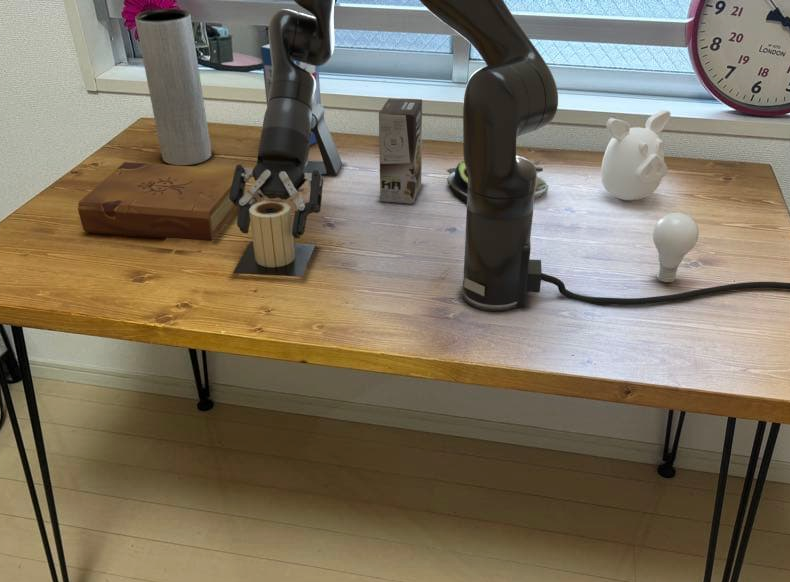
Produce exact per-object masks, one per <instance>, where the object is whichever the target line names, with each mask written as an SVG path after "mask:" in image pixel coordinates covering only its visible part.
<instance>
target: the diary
mask: <svg viewBox="0 0 790 582" xmlns="http://www.w3.org/2000/svg"><path fill="white" fill-rule="evenodd" d="M234 173H235V168H222V167H207V166H206V167H205V166H193V165H184V166H180V165H172V164H160V163H159V164H158V163H147V162H146V163H145V162H144V163H143V162H129V161H124V162H123V163H122V164H121V165H120V166H118V167H117V168H116V169H115V170H114V171H113V172H111V173H110V174H109V175H107V177H106V178H105V179H103V180H102V181H101V182H100V183H99V184H98V185H96V186H95V187H94V188H93V189H92V190H90V192H89V193H87V194H86V195H85V196H84V197H83V198H81V199H80V200H79V201H78V206H77V211H78V215H79V218H80V222H81V227H82V230H83V231H84V232H85V233H89V234H102V235H114V236H127V237H139V238H152V239H164V240H166V239H167V238H175V239H176V238H177V239H188V240H189V239H190V240H191V239H192V240H203V241H213V240H214V239H215V238H216V236H217V235H218V234H219V233H220V231H221V230H222V229H223V228H224V226H225V225H226V223H227V222H228V221H229V220H230V218H231V217H232V215H233V214H234V213H235V211H236V210H238V209H239V207H238V206H235V205H234V204H233V203H232V201H231V200H230V199H229V194H230V190H231V186H232V181H233V177H234ZM245 194H246V193H244V194H243V196H244V195H245Z"/></svg>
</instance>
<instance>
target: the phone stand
mask: <svg viewBox="0 0 790 582" xmlns="http://www.w3.org/2000/svg"><path fill="white" fill-rule="evenodd" d="M313 106H314V103H313ZM314 117H315V118H314ZM312 132H313V133H314V134H315V138H316V141H317V142H316V143H317V146H318V150H319V153H320V156H321V159H322V161H309V160H308V159H309V153H310V148H311V145H310V143H311V137H312ZM311 137H310V140H309V145H308V152H307V158H306V164H305V169H304V171H305V173H312V172H313V171H315V170H317V171H319V173H320V174H321V176H322V177H324V176H325V177H336V176H337V174H338V173H339V171H340V169H341V166H342V164H343V161H342V159H341V157H340V155H339V151H338V149H337V146H336V144H335V142H334V139H333V137H332V134H331V131H330V130H329V127H328V125H327V122H326V119H325V109H324V106H323V105H322V103H321V104H319V103H318V105H317V106H316V108H315V109H314V111H313V112H312V124H311Z"/></svg>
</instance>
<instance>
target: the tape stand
mask: <svg viewBox="0 0 790 582" xmlns="http://www.w3.org/2000/svg"><path fill="white" fill-rule="evenodd" d="M272 213H277V210H276V209H273V208H269V209H265V210H264V214H272ZM315 247H316V243H299V242H298V243H296V242H294V249H295V258H294V261H292V262H291V263H289V264H288V265H285V266H281V267H264V266H262V265H259V264H258V263H257V261H256V260H255V252H254V245H253V240H251V241H250V242H249V244H248V246H247V247H246V249H245V251H244V253H243V254H242V256H241V258H240V260H239V261H238V263H237V265H236V267H235V269H234V270H233V272H232V274H238V275H258V276H276V277H277V276H279V277H296V278H298V277H299V278H302V277H303V275H304V273H305V271H306V269H307V266H308V264H309V261H310V259H311V257H312V254H313V251H314V250H315Z"/></svg>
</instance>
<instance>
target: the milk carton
mask: <svg viewBox="0 0 790 582" xmlns="http://www.w3.org/2000/svg"><path fill="white" fill-rule="evenodd" d="M260 52H261V53H260V54H261V62H262V71H263V83H264V89H265V100H266V107H267V106H268V100H269V94H270V88H271V81H272V61H271V53H270V46H269V43H268V44H265V45H262V46H260ZM291 61H292V62H293V63H294V64H296V65H297V66H299V67H301V68H303V69H304V70H306V71H308V72H309V73H310V74H311V75H312V76H313V77H314V78H315V81H316V91H315V97H314V106H313V109H312V112H313V111H314V109H315V108H316V106H317V105H318V103H319V104H321V105H322V101H321V99H322V98H321V85H320V72H319V70H320V69H319V66H313V65H310V64H306V63H303V62H299V61H295V60H291ZM314 118H315V117H314ZM316 143H317V141H316V138H315V134H314V133H313V132H312V137H311V143H310V146H312V145H313V144H316Z"/></svg>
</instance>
